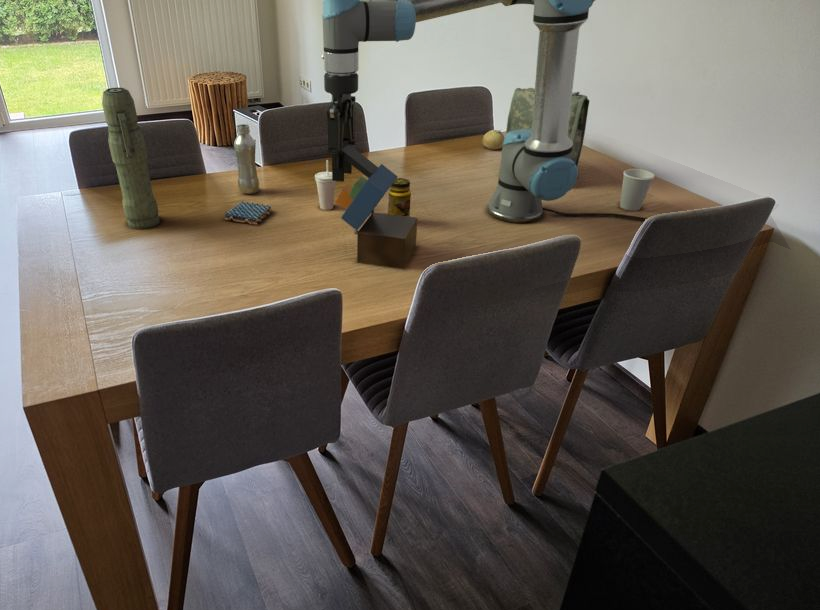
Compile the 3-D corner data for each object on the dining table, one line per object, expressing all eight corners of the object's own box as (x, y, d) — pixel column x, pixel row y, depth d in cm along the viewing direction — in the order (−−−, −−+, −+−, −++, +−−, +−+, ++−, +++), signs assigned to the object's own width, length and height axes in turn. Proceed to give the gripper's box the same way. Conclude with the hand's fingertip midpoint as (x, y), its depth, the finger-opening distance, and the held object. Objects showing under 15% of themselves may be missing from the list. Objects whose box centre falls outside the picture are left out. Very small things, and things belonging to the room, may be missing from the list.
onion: (481, 151, 223) (484, 131, 219) (481, 144, 230) (484, 125, 225) (504, 152, 222) (506, 132, 218) (503, 145, 228) (506, 126, 224)
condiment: (407, 229, 167) (409, 186, 160) (377, 225, 169) (378, 183, 162) (413, 218, 173) (415, 177, 166) (384, 215, 175) (385, 174, 168)
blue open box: (398, 175, 149) (352, 139, 147) (385, 192, 139) (336, 154, 138) (371, 212, 156) (327, 178, 155) (357, 230, 147) (310, 194, 146)
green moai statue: (154, 212, 177) (128, 83, 157) (165, 226, 168) (139, 92, 148) (122, 218, 173) (92, 86, 153) (132, 233, 165) (101, 96, 145)
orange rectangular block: (374, 201, 150) (347, 183, 150) (369, 208, 147) (342, 189, 147) (366, 214, 153) (340, 196, 152) (361, 220, 150) (334, 202, 149)
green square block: (383, 187, 148) (361, 176, 149) (376, 196, 144) (353, 184, 144) (378, 198, 150) (356, 187, 151) (371, 207, 146) (349, 196, 146)
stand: (416, 245, 159) (418, 214, 154) (402, 270, 148) (404, 237, 143) (370, 239, 162) (371, 208, 157) (353, 262, 151) (353, 230, 146)
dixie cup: (649, 206, 180) (659, 173, 174) (638, 214, 175) (648, 180, 170) (622, 199, 185) (630, 166, 179) (610, 207, 180) (618, 173, 174)
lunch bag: (578, 174, 203) (597, 86, 187) (563, 189, 191) (582, 97, 176) (513, 162, 212) (526, 78, 196) (496, 176, 201) (508, 88, 185)
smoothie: (334, 212, 177) (333, 164, 169) (313, 210, 178) (311, 163, 170) (339, 204, 182) (339, 157, 174) (318, 202, 183) (317, 155, 175)
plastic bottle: (234, 194, 188) (226, 127, 177) (245, 187, 193) (239, 122, 182) (253, 197, 186) (246, 130, 175) (263, 190, 191) (258, 124, 180)
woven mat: (223, 220, 172) (222, 214, 171) (241, 207, 180) (240, 200, 179) (256, 226, 169) (255, 219, 168) (273, 211, 177) (272, 205, 176)
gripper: (338, 63, 141) (339, 163, 155) (310, 79, 127) (314, 187, 141) (369, 65, 140) (367, 166, 153) (344, 82, 125) (344, 191, 139)
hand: (342, 176), depth 147 cm, fingers closed on blue open box, 5 cm apart
